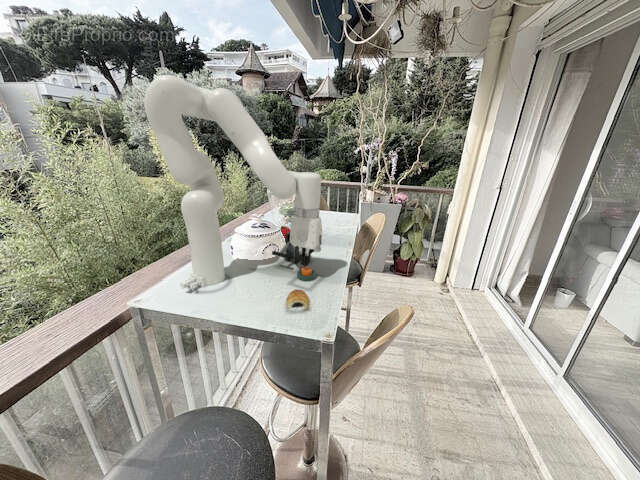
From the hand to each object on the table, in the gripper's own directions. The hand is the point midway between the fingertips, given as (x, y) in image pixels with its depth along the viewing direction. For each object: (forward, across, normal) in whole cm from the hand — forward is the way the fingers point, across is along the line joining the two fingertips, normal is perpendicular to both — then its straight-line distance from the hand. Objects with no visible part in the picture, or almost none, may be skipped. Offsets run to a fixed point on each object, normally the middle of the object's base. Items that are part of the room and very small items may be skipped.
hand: (305, 264), depth 91 cm
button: (+4, +1, 0) cm, 4 cm away
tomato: (+7, -28, +27) cm, 40 cm away
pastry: (+6, +6, -14) cm, 16 cm away
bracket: (+6, -10, +9) cm, 15 cm away
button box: (+6, +1, 0) cm, 6 cm away
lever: (-2, -11, +5) cm, 12 cm away
